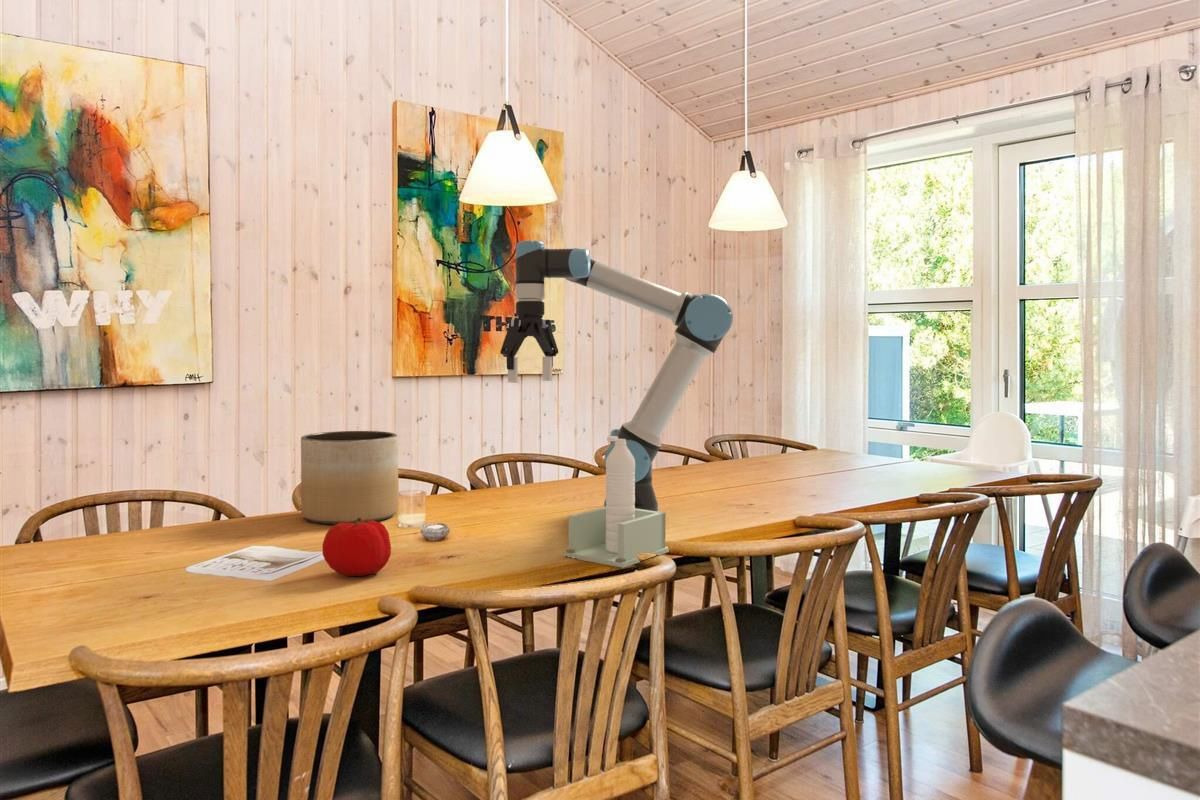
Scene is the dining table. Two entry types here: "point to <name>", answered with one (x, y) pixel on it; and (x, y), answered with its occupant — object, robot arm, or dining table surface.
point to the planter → (349, 476)
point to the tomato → (357, 547)
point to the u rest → (632, 537)
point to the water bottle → (619, 490)
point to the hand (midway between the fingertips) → (530, 381)
